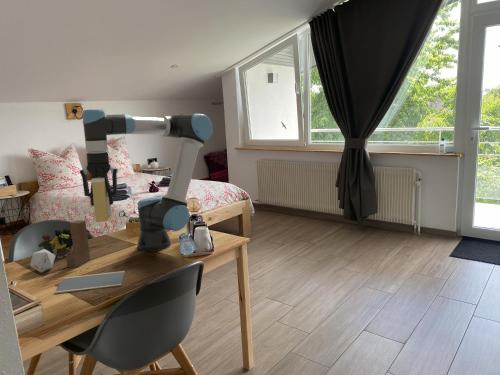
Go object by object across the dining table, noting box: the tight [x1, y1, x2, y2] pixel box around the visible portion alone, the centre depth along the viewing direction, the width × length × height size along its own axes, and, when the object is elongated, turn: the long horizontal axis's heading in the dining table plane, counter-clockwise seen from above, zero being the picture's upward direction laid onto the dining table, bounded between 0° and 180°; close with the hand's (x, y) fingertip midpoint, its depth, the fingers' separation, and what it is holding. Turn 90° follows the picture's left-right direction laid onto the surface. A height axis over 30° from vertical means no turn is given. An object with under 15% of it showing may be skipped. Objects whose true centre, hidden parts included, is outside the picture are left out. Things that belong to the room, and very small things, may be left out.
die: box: [29, 248, 57, 274], centre depth 162 cm, size 8×9×10 cm
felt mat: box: [53, 270, 126, 295], centre depth 149 cm, size 23×13×1 cm, turn 101°
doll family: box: [37, 228, 91, 259], centre depth 180 cm, size 23×9×13 cm, turn 157°
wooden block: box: [65, 219, 91, 268], centre depth 167 cm, size 9×4×18 cm, turn 160°
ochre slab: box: [90, 174, 112, 223], centre depth 149 cm, size 4×8×16 cm, turn 9°
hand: (103, 213), depth 150 cm, fingers closed on ochre slab, 4 cm apart
